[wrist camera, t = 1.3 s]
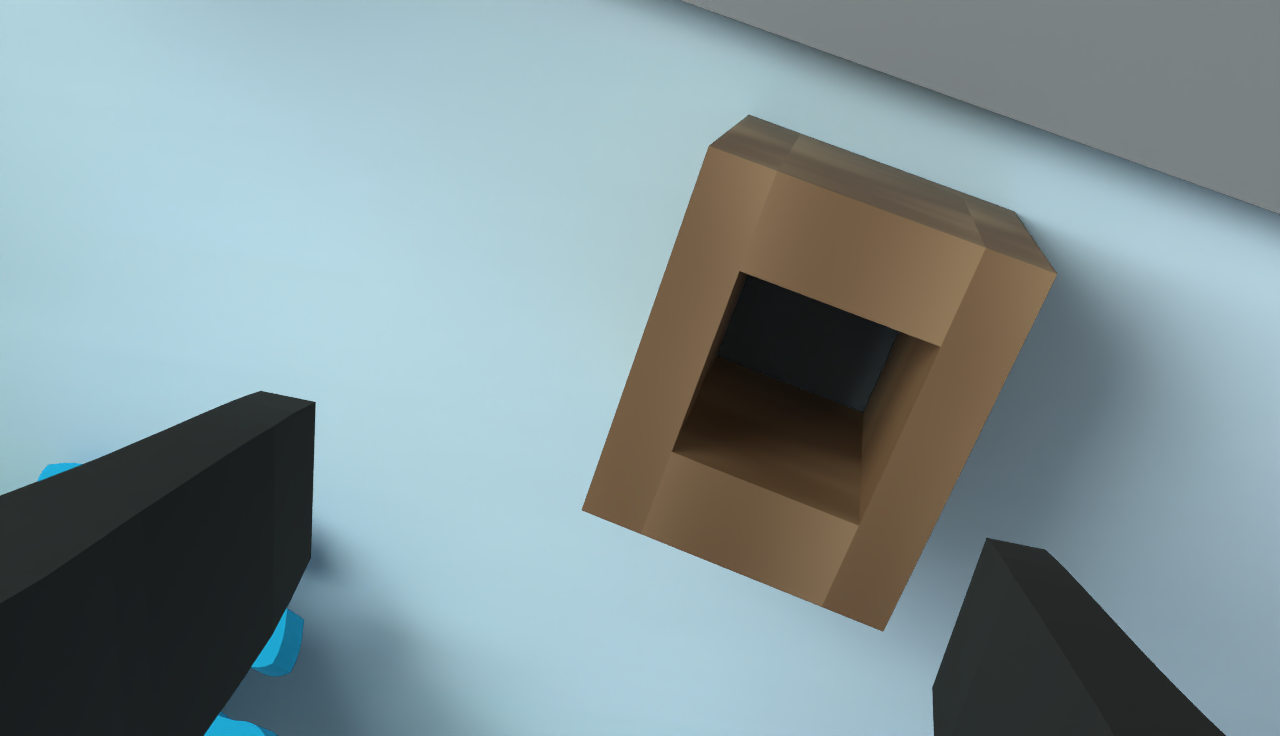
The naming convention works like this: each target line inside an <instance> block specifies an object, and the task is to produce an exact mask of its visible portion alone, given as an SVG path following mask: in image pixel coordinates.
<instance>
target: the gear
mask: <svg viewBox="0 0 1280 736" xmlns="http://www.w3.org/2000/svg"><path fill="white" fill-rule="evenodd" d="M80 465H82V464H77V463H60V464H50V465H48V466H47V467H46V468H45V469H44V470H43V471H42V473H41V475H40V476H39V478H38V481H40V480H43V479H46V478H48V477H51V476H53V475H56V474H59V473H61V472H64V471H67V470H69V469H72V468H74V467H77V466H80ZM38 481H37V482H38ZM303 624H304V619H302V618H301V617H300V616H298V615H297V614H295V613H294V612H292V611H290V610H289V609H287V608H286V610H285V612H284V614H283V616H282V618H281V620H280V621H279V623H278V625H277V627H276V629H275V631H274V633H273V635H272V636H271V638H270V639H269V641H268V642H267V644H266V645H265V647H264V649H263V650H262V652H261V653H260V655H259V656H258V657H257V659H256V660H255V662H254V663H253V665H252V666H251V668H252V669H254V670H256V671H258V672H260V673H262V674H265V675H268V676H275V677H277V676H283V675H286V674H288V673H290V672H291V670H292V668H293V666H294V664H295V662H296V660H297V657H298V654H299V651H300V646H301V641H302V634H303ZM204 736H278V735H276V734H275V733H274V732H272V731H270V730H267V729H265V728H262V727H260V726H257V725H255V724H252V723H249V722H246V721H235V720H232V719H230V718H229V717H227V716H226V715H225V714H224V713H223V712H222V711H221V712H220V713H219V715H218V716H217V717H216V719H215V720H214V722H213V723H212V725H211V726H210V728H209V729H208V730H207V732H206V733H205V735H204Z"/></svg>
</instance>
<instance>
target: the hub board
mask: <svg viewBox="0 0 1280 736" xmlns="http://www.w3.org/2000/svg"><path fill="white" fill-rule="evenodd" d="M681 1H684V2H687V3H690V4H693V5H695V6H698V7H701V8H704V9H707V10H709V11H712V12H715V13H718V14H721V15H723V16H726V17H729V18H732V19H735V20H737V21H740V22H743V23H746V24H749V25H751V26H754V27H757V28H760V29H763V30H765V31H768V32H771V33H774V34H777V35H779V36H782V37H785V38H788V39H791V40H793V41H796V42H799V43H802V44H805V45H807V46H810V47H813V48H816V49H819V50H821V51H824V52H827V53H830V54H833V55H835V56H838V57H841V58H844V59H847V60H849V61H852V62H855V63H858V64H861V65H863V66H866V67H869V68H872V69H875V70H877V71H880V72H883V73H886V74H889V75H891V76H894V77H897V78H900V79H903V80H905V81H908V82H911V83H914V84H917V85H919V86H922V87H925V88H928V89H931V90H933V91H936V92H939V93H942V94H945V95H947V96H950V97H953V98H956V99H959V100H961V101H964V102H967V103H970V104H973V105H975V106H978V107H981V108H984V109H987V110H989V111H992V112H995V113H998V114H1001V115H1003V116H1006V117H1009V118H1012V119H1015V120H1017V121H1020V122H1023V123H1026V124H1029V125H1031V126H1034V127H1037V128H1040V129H1043V130H1045V131H1048V132H1051V133H1054V134H1057V135H1059V136H1062V137H1065V138H1068V139H1071V140H1073V141H1076V142H1079V143H1082V144H1085V145H1087V146H1090V147H1093V148H1096V149H1099V150H1101V151H1104V152H1107V153H1110V154H1113V155H1116V156H1118V157H1121V158H1124V159H1127V160H1130V161H1132V162H1135V163H1138V164H1141V165H1144V166H1146V167H1149V168H1152V169H1155V170H1158V171H1160V172H1163V173H1166V174H1169V175H1172V176H1174V177H1177V178H1180V179H1183V180H1186V181H1188V182H1191V183H1194V184H1197V185H1200V186H1202V187H1205V188H1208V189H1211V190H1214V191H1216V192H1219V193H1222V194H1225V195H1228V196H1230V197H1233V198H1236V199H1239V200H1242V201H1244V202H1247V203H1250V204H1253V205H1256V206H1258V207H1261V208H1264V209H1267V210H1270V211H1272V212H1275V213H1278V214H1280V0H681Z"/></svg>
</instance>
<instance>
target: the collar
mask: <svg viewBox="0 0 1280 736" xmlns="http://www.w3.org/2000/svg"><path fill="white" fill-rule="evenodd" d="M748 274H749V275H752V276H754V277H757V278H760V279H762V280H765V281H768V282H770V283H773V284H776V285H778V286H781V287H783V288H786V289H789V290H791V291H794V292H797V293H799V294H802V295H805V296H807V297H810V298H813V299H815V300H818V301H821V302H823V303H826V304H829V305H831V306H834V307H836V308H839V309H842V310H844V311H847V312H850V313H852V314H855V315H858V316H860V317H863V318H866V319H868V320H871V321H874V322H876V323H879V324H881V325H884V326H887V327H889V328H892V329H895V330H897V331H899V333H898V335H897V337H896V339H895V342H894V344H893V346H892V348H891V351H890V353H889V355H888V358H887V360H886V362H885V364H884V367H883V369H882V371H881V373H880V376H879V378H878V380H877V383H876V385H875V387H874V389H873V392H872V394H871V396H870V398H869V401H868V403H867V405H866V408H865V410H864V412H861V411H858V410H855V409H853V408H850V407H848V406H845V405H842V404H840V403H837V402H835V401H832V400H829V399H827V398H824V397H822V396H819V395H816V394H814V393H811V392H809V391H806V390H804V389H801V388H798V387H796V386H793V385H791V384H788V383H785V382H783V381H780V380H778V379H775V378H772V377H770V376H767V375H765V374H762V373H759V372H757V371H754V370H752V369H749V368H746V367H744V366H741V365H739V364H736V363H733V362H731V361H728V360H726V359H723V358H720V357H718V356H717V355H718V352H719V349H720V347H721V344H722V341H723V339H724V336H725V333H726V331H727V328H728V325H729V323H730V320H731V318H732V315H733V312H734V310H735V307H736V304H737V302H738V299H739V296H740V294H741V291H742V289H743V286H744V283H745V281H746V278H747V275H748ZM1056 276H1057V273H1056V272H1055V270H1054V269H1053V267H1052V266H1051V264H1050V263H1049V261H1048V260H1047V258H1046V257H1045V255H1044V254H1043V253H1042V251H1041V250H1040V248H1039V247H1038V245H1037V244H1036V242H1035V241H1034V239H1033V238H1032V236H1031V235H1030V234H1029V232H1028V231H1027V229H1026V228H1025V226H1024V225H1023V223H1022V222H1021V220H1020V219H1019V217H1018V216H1017V215H1016V213H1015V212H1014V211H1012V210H1009V209H1006V208H1003V207H1001V206H998V205H995V204H992V203H990V202H987V201H984V200H981V199H979V198H976V197H973V196H970V195H968V194H965V193H962V192H959V191H957V190H954V189H951V188H948V187H946V186H943V185H940V184H937V183H935V182H932V181H929V180H926V179H924V178H921V177H918V176H916V175H913V174H910V173H907V172H905V171H902V170H899V169H896V168H894V167H891V166H888V165H885V164H883V163H880V162H877V161H874V160H872V159H869V158H866V157H863V156H861V155H858V154H855V153H852V152H850V151H847V150H844V149H841V148H839V147H836V146H833V145H830V144H828V143H825V142H822V141H819V140H817V139H814V138H811V137H808V136H806V135H803V134H800V133H798V132H795V131H792V130H789V129H787V128H784V127H781V126H778V125H776V124H773V123H770V122H767V121H765V120H762V119H759V118H756V117H754V116H751V115H748V116H747V117H745V118H744V119H743V120H741V121H740V122H739V123H738V124H736V125H735V126H734V127H732V128H731V129H730V130H729V131H727V132H726V133H725V134H723V135H722V136H721V137H720V138H718V139H717V140H716V141H714V142H713V143H712V144H711V145H709V147H708V150H707V153H706V156H705V158H704V161H703V164H702V167H701V170H700V173H699V176H698V178H697V181H696V184H695V187H694V190H693V193H692V196H691V199H690V201H689V204H688V207H687V210H686V213H685V216H684V219H683V221H682V224H681V227H680V230H679V233H678V236H677V239H676V242H675V244H674V247H673V250H672V253H671V256H670V259H669V262H668V264H667V267H666V270H665V273H664V276H663V279H662V282H661V284H660V287H659V290H658V293H657V296H656V299H655V302H654V305H653V307H652V310H651V313H650V316H649V319H648V322H647V325H646V327H645V330H644V333H643V336H642V339H641V342H640V345H639V347H638V350H637V353H636V356H635V359H634V362H633V365H632V368H631V370H630V373H629V376H628V379H627V382H626V385H625V388H624V390H623V393H622V396H621V399H620V402H619V405H618V408H617V410H616V413H615V416H614V419H613V422H612V425H611V428H610V431H609V433H608V436H607V439H606V442H605V445H604V448H603V451H602V453H601V456H600V459H599V462H598V465H597V468H596V471H595V473H594V476H593V479H592V482H591V485H590V488H589V491H588V494H587V496H586V499H585V502H584V505H583V508H582V511H585V512H587V513H590V514H592V515H595V516H597V517H600V518H602V519H605V520H607V521H610V522H612V523H615V524H617V525H620V526H622V527H625V528H627V529H630V530H632V531H635V532H637V533H640V534H642V535H645V536H647V537H650V538H652V539H654V540H657V541H659V542H662V543H664V544H667V545H669V546H672V547H674V548H677V549H679V550H682V551H684V552H687V553H689V554H692V555H694V556H697V557H699V558H702V559H704V560H707V561H709V562H712V563H714V564H717V565H719V566H722V567H724V568H727V569H729V570H731V571H734V572H736V573H739V574H741V575H744V576H746V577H749V578H751V579H754V580H756V581H759V582H761V583H764V584H766V585H769V586H771V587H774V588H776V589H779V590H781V591H784V592H786V593H789V594H791V595H794V596H796V597H799V598H801V599H803V600H806V601H808V602H811V603H813V604H816V605H818V606H821V607H823V608H826V609H828V610H831V611H833V612H836V613H838V614H841V615H843V616H846V617H848V618H851V619H853V620H856V621H858V622H861V623H863V624H866V625H868V626H871V627H873V628H876V629H878V630H880V631H884V629H885V627H886V625H887V623H888V621H889V619H890V617H891V615H892V613H893V611H894V609H895V606H896V604H897V602H898V600H899V598H900V596H901V594H902V592H903V590H904V588H905V586H906V584H907V582H908V580H909V578H910V576H911V574H912V572H913V569H914V567H915V565H916V563H917V561H918V559H919V557H920V555H921V553H922V551H923V549H924V547H925V545H926V543H927V541H928V539H929V537H930V535H931V532H932V530H933V528H934V526H935V524H936V522H937V520H938V518H939V516H940V514H941V512H942V510H943V508H944V506H945V504H946V502H947V500H948V498H949V496H950V493H951V491H952V489H953V487H954V485H955V483H956V481H957V479H958V477H959V475H960V473H961V471H962V469H963V467H964V465H965V463H966V461H967V459H968V456H969V454H970V452H971V450H972V448H973V446H974V444H975V442H976V440H977V438H978V436H979V434H980V432H981V430H982V428H983V426H984V424H985V422H986V419H987V417H988V415H989V413H990V411H991V409H992V407H993V405H994V403H995V401H996V399H997V397H998V395H999V393H1000V391H1001V389H1002V387H1003V385H1004V382H1005V380H1006V378H1007V376H1008V374H1009V372H1010V370H1011V368H1012V366H1013V364H1014V362H1015V360H1016V358H1017V356H1018V354H1019V352H1020V350H1021V348H1022V346H1023V343H1024V341H1025V339H1026V337H1027V335H1028V333H1029V331H1030V329H1031V327H1032V325H1033V323H1034V321H1035V319H1036V317H1037V315H1038V313H1039V311H1040V309H1041V306H1042V304H1043V302H1044V300H1045V298H1046V296H1047V294H1048V292H1049V290H1050V288H1051V286H1052V284H1053V282H1054V280H1055V278H1056Z"/></svg>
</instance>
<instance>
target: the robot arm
mask: <svg viewBox="0 0 1280 736" xmlns="http://www.w3.org/2000/svg"><path fill="white" fill-rule="evenodd" d="M315 403H316V402H313V401H308V400H303V399H298V398H293V397H288V396H283V395H278V394H273V393H268V392H263V391H259V392H256V393H253V394H250V395H247V396H244V397H242V398H239V399H236V400H234V401H231V402H229V403H226V404H224V405H221V406H219V407H217V408H214V409H212V410H210V411H207V412H205V413H203V414H200V415H198V416H196V417H193V418H191V419H189V420H187V421H184V422H182V423H180V424H177V425H175V426H173V427H171V428H168V429H166V430H164V431H161V432H159V433H157V434H154V435H152V436H150V437H147V438H145V439H142V440H140V441H138V442H135V443H133V444H131V445H128V446H126V447H124V448H121V449H119V450H117V451H114V452H112V453H110V454H107V455H105V456H103V457H100V458H98V459H95V460H93V461H90V462H87V463H85V464H82V465H80V466H77V467H74V468H72V469H69V470H67V471H64V472H61V473H59V474H56V475H53V476H51V477H48V478H46V479H43V480H40V481H38V482H35V483H32V484H30V485H27V486H25V487H22V488H19V489H17V490H14V491H11V492H9V493H6V494H4V495H1V496H0V736H204V735H205V733H206V732H207V730H208V729H209V728H210V726H211V725H212V723H213V722H214V720H215V719H216V717H217V716H218V715H219V713H220V712H221V710H222V709H223V707H224V706H225V704H226V703H227V702H228V700H229V699H230V697H231V696H232V694H233V693H234V691H235V690H236V688H237V687H238V685H239V684H240V683H241V681H242V680H243V678H244V677H245V675H246V674H247V672H248V671H249V669H250V668H251V666H252V665H253V663H254V662H255V660H256V659H257V657H258V656H259V655H260V653H261V652H262V650H263V649H264V647H265V645H266V644H267V642H268V641H269V639H270V638H271V636H272V635H273V633H274V631H275V629H276V627H277V625H278V623H279V621H280V620H281V618H282V616H283V614H284V612H285V610H286V608H287V606H288V604H289V602H290V600H291V598H292V596H293V594H294V592H295V590H296V588H297V586H298V584H299V581H300V579H301V577H302V575H303V573H304V571H305V569H306V567H307V565H308V563H309V561H310V559H311V537H312V503H313V470H314V436H315ZM932 691H933V721H934V736H1226V735H1225V734H1224V733H1223V732H1222V731H1220V730H1219V729H1218V728H1217V727H1216V726H1215V725H1214V724H1213V723H1212V722H1211V721H1210V720H1209V719H1208V718H1207V717H1206V716H1205V715H1204V714H1203V713H1202V712H1201V711H1200V710H1199V709H1198V708H1197V707H1196V706H1195V705H1194V704H1193V703H1192V702H1191V701H1190V700H1189V699H1188V698H1187V697H1186V696H1185V695H1184V694H1183V693H1182V692H1181V691H1180V690H1179V689H1178V688H1177V687H1176V686H1175V685H1174V684H1173V683H1172V682H1171V681H1170V680H1169V679H1168V678H1167V677H1166V676H1165V675H1164V674H1163V673H1162V672H1161V671H1160V670H1159V669H1158V668H1157V667H1156V665H1155V664H1154V663H1153V662H1152V661H1151V660H1150V659H1149V658H1148V657H1147V656H1146V655H1145V654H1144V653H1143V652H1142V651H1141V650H1140V649H1139V648H1138V646H1137V645H1136V644H1135V643H1134V642H1133V641H1132V640H1131V639H1130V638H1129V637H1128V636H1127V635H1126V634H1125V633H1124V631H1123V630H1122V629H1121V628H1120V627H1119V626H1118V625H1117V624H1116V623H1115V622H1114V621H1113V620H1112V618H1111V617H1110V616H1109V615H1108V614H1107V613H1106V612H1105V611H1104V610H1103V609H1102V608H1101V607H1100V605H1099V604H1098V603H1097V602H1096V601H1095V600H1094V599H1093V598H1092V597H1091V596H1090V595H1089V594H1088V592H1087V591H1086V590H1085V589H1084V588H1083V587H1082V586H1081V585H1080V584H1079V583H1078V582H1077V581H1076V580H1075V579H1074V577H1073V576H1072V575H1071V574H1070V573H1069V572H1068V571H1067V570H1066V569H1065V568H1064V567H1063V566H1062V565H1061V564H1060V563H1059V562H1058V561H1057V560H1056V559H1055V558H1054V557H1053V556H1052V555H1050V554H1049V553H1048V552H1047V551H1046V550H1044V549H1039V548H1034V547H1029V546H1024V545H1019V544H1014V543H1009V542H1004V541H999V540H995V539H990V538H986V541H985V544H984V546H983V549H982V552H981V555H980V558H979V560H978V563H977V566H976V569H975V571H974V574H973V577H972V580H971V582H970V585H969V588H968V591H967V593H966V596H965V599H964V602H963V604H962V607H961V610H960V613H959V616H958V618H957V621H956V624H955V627H954V629H953V632H952V635H951V638H950V640H949V643H948V646H947V649H946V651H945V654H944V657H943V660H942V662H941V665H940V668H939V671H938V673H937V676H936V679H935V682H934V685H933V687H932Z"/></svg>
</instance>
